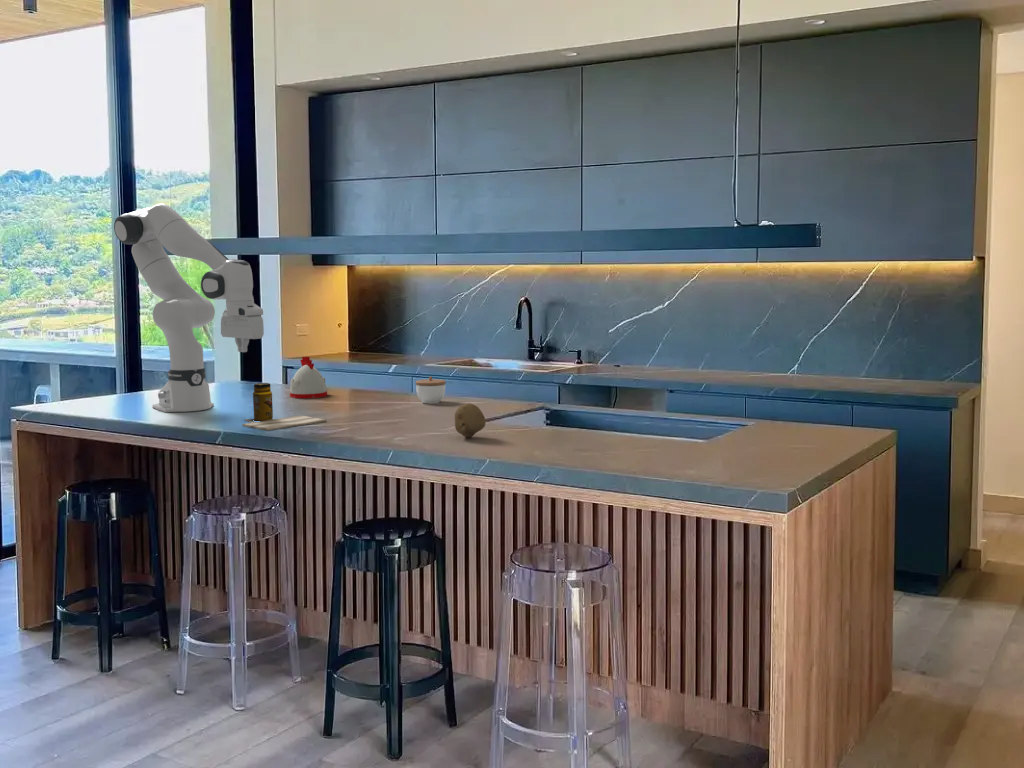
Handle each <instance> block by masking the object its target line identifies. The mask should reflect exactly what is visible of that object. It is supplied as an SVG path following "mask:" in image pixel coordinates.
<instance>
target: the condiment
mask: <svg viewBox="0 0 1024 768" xmlns="http://www.w3.org/2000/svg"><path fill="white" fill-rule="evenodd" d="M252 401H253V418H245V419H244V420H245V421H246V422H247V423H253V422H254V421H266V420H273V419H274V414H273V413H274V412H273V411H274V409H273V393H272V391H271V384H270V383H268V382H257V383H254V384H253V392H252ZM253 420H254V421H253Z"/></svg>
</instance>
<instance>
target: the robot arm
mask: <svg viewBox="0 0 1024 768" xmlns="http://www.w3.org/2000/svg"><path fill="white" fill-rule="evenodd" d="M113 230H114V233H115V235H116V238H117V239H118V240H119V242H121V243H122V244H124V245H132V246H131V254H132V258H133V260H134V263H135V265H136V267H137V269H138V271H139V273H140V275H141V276H142V277H143V279H144V281H145V283H146V284H147V286H148V288H149V289H150V291H151V292H152V294H154V296H156V297H158V298H160V299H162V301H160V302H158V303H156V304H155V305H154V306H153V309H152V320H153V322H154V324H155V325H156V326H157V327H158V328H159V329H160V330H161V331H162V333H163V335H164V337H165V340H166V342H167V346H168V352H169V363H170V365H169V366H170V369H169V370H167V375H168V376H167V377H168V378H167V380H168V381H167V382H166V383H165V384H164V386H162V387H161V389H160V390H159V392H158V393H157V397H158V400H159V401H158V403H155V404H152V408H153V409H156V410H158V411H160V412H163V413H171V412H172V413H174V412H178V413H179V412H181V413H182V412H183V413H184V412H197V411H205V410H209V409H211V408H212V407H215V403H213V402H212V399H211V398H212V397H211V392H210V384H209V383H208V382H207V381H206V379H207V377H206V375H207V372H206V368H205V367H204V366H205V365H204V363H205V362H204V349H203V345H202V343H200V342H199V341H198V340H197V339H196V336H195V334H194V331H193V329H198V328H202V327H204V326H207V325H209V324H210V323H212V321H213V320H214V317H215V315H216V314H215V313H216V309H215V306H214V305H213V302H211V301H210V300H213V301H214V300H215V301H216V300H218V301H219V300H225V309H224V311H223V312H222V316H221V319H220V334H221V336H222V337H223V338H234V342H235V345H236V346H237V352H239V353H247V352H248V346H249V343H250V340H258V339H259V340H261V339H262V338H263V337H264V331H265V329H264V318H263V315H264V309H263V308H262V307H260V306H259V305H258V304H256V303H255V299H254V295H253V288H254V280H253V278H254V277H253V272H252V268H251V265H250V263H249V262H248V261H246V260H244V259H243V260H242V259H233V258H232V259H229V257H226V255H225V254H223V252H221V250H220V249H218V247H216V246H215V245H214V244H213V243H211V242H210V241H209V240H208V239H206V238H204V237H203V236H202V235H201V234H200V233H198V232H197V230H195V229H194V228H193V227H192V226H191V225H190V224H189V223H188V222H187V221H186V220H185V219H184V218H183V216H181V215H180V214H179V213H178V212H177V211H176V210H175V209H174V208H172V207H171V206H169V205H167V204H164V203H158V204H155V205H153V206H152V207H151V206H149V207H143V208H141V209H137V210H135V211H131V212H128V213H127V212H126V213H123V214H121V215H118V216H117V217H116V218H115V220H114V224H113ZM165 249H166V251H168V252H170V253H171V254H172V255H174V256H177V257H180V258H186V259H187V258H188V259H192V260H197V261H199V262H201V263H204V264H205V265H208V267H209V268H210V269H211V270H210V271H207V272H204V274H203V275H202V278H201V280H200V289H201V291H202V293H203V295H204V296H205V297H206V298H205V297H204V296H202V295H201V294H199V293H198V291H196V290H195V289H194V288H193V287H192V286H191V285H189V283H187V281H186V280H185V279H183V277H182V276H181V274H180V272H179V271H178V269H177V268H176V265H175V264H174V263H173V261H172V260H171V257H170V256H169V255H168V254H167V252H166V251H165ZM209 299H210V300H209Z"/></svg>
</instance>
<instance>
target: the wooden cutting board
mask: <svg viewBox="0 0 1024 768" xmlns="http://www.w3.org/2000/svg"><path fill="white" fill-rule="evenodd" d="M272 419H273V420H266V421H260V422H253V423H251V422H246V423H242V427H245V428H251V429H252V428H253V429H257V430H261V431H274V430H275V431H276V430H281V429H282V430H283V429H287V428H288V429H289V428H294V426H295V427H299V426H300V425H301V426H306V424H308V425H312V424H313V423H314V424H318V423H325V422H327V419H324V418H317V417H313V416H306V415H295V416H288V417H281V418H272ZM314 424H313V425H314ZM301 426H300V427H301Z"/></svg>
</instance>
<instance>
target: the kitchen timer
mask: <svg viewBox="0 0 1024 768" xmlns="http://www.w3.org/2000/svg"><path fill="white" fill-rule="evenodd" d="M300 365H301V367H300V368H298V370H297V371H296V372H295V374H294V375H293V377H292V378H290V388H289V398H292V399H318V398H325V397H327V396H328V389H327V385H326V378H325V377H323V375H322V374H321V372H320V371H319V370H318V369H317V368H316V367H315V363H313V360H312V359H310V356H302V358H301V359H300Z"/></svg>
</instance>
